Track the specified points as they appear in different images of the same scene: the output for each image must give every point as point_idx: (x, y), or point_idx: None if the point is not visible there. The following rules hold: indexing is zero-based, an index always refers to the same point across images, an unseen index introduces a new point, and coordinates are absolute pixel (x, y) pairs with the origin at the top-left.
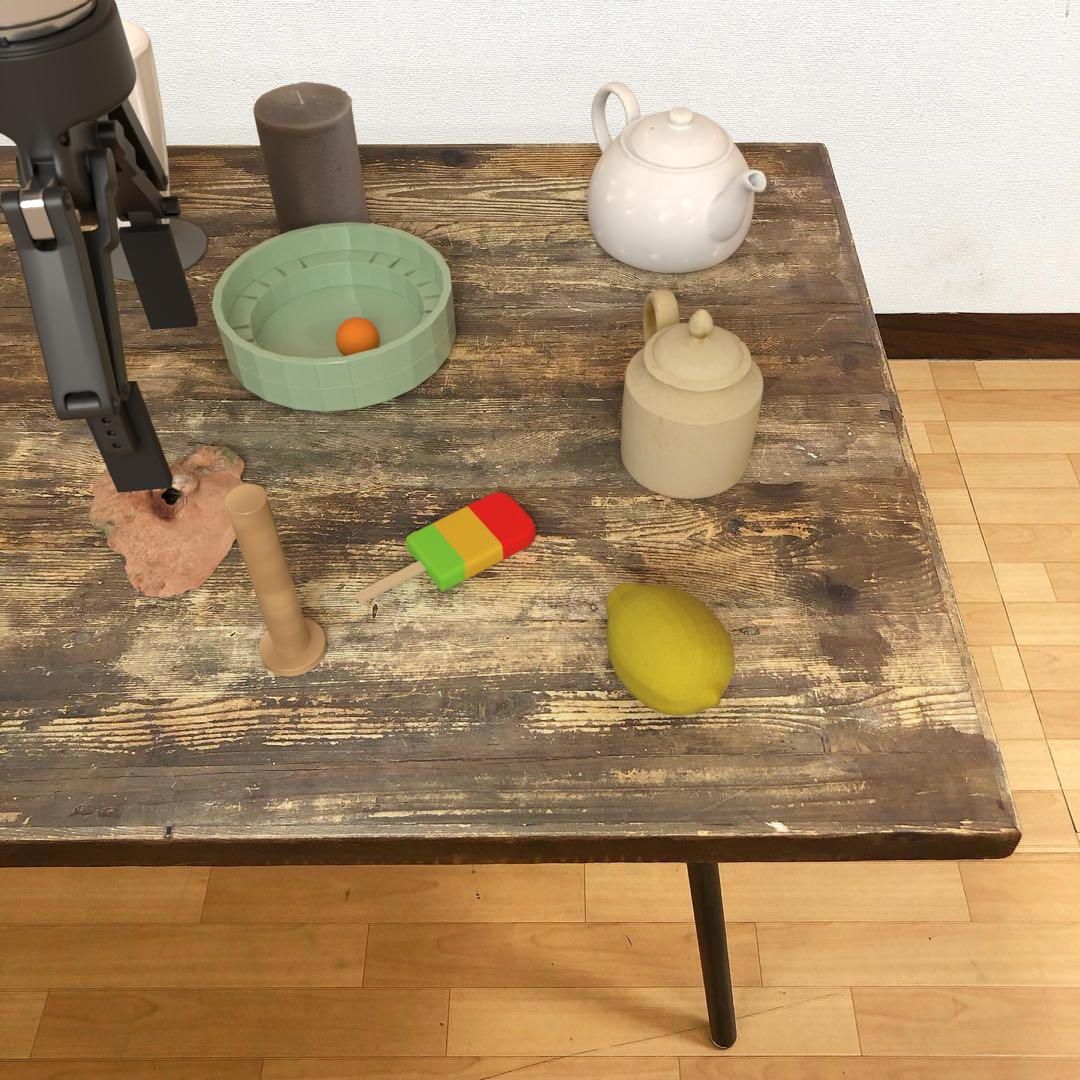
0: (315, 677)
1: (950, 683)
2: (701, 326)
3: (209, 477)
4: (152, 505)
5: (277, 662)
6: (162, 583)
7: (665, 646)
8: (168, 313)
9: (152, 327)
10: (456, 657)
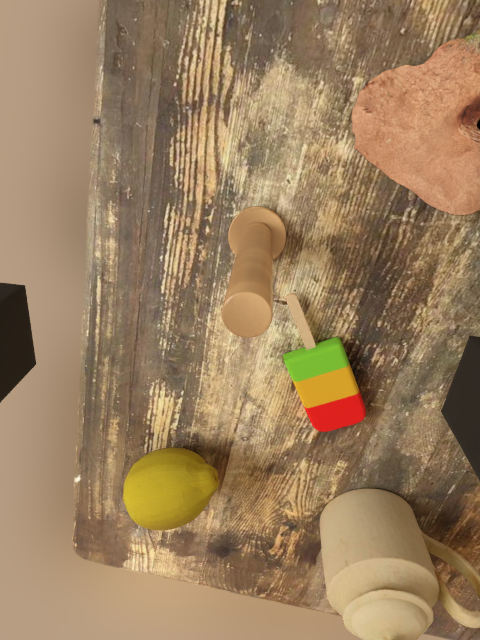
0: (225, 249)
1: (153, 568)
2: None
3: None
4: None
5: (238, 223)
6: (371, 109)
7: (139, 505)
8: (470, 395)
9: (471, 342)
10: (221, 351)
